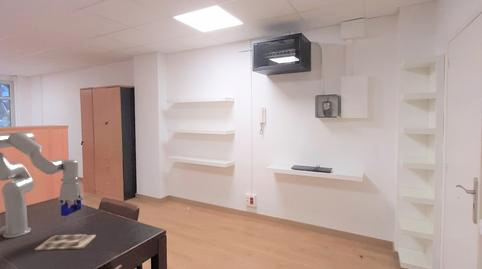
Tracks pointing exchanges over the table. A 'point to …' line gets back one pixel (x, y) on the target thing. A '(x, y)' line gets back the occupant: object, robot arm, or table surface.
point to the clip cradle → (66, 242)
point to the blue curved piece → (68, 209)
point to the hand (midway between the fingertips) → (71, 210)
